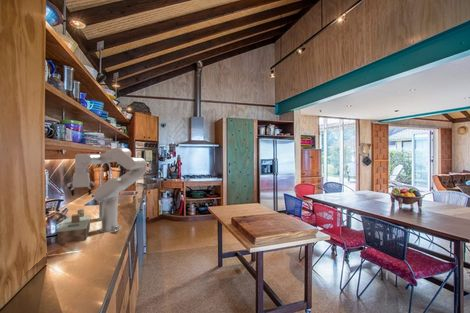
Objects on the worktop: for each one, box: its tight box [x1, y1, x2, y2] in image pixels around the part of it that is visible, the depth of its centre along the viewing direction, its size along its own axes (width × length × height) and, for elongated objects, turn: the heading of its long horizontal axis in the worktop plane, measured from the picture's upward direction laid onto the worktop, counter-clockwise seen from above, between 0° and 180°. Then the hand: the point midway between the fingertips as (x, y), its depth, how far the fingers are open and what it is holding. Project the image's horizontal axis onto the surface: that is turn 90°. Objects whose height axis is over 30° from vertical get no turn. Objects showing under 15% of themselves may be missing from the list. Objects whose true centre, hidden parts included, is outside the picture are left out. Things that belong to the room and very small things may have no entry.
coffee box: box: [98, 201, 103, 221], centre depth 192 cm, size 9×6×16 cm
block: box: [77, 208, 86, 217], centre depth 167 cm, size 4×4×14 cm
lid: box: [57, 213, 91, 233], centre depth 150 cm, size 14×26×6 cm, turn 28°
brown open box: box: [57, 219, 91, 245], centre depth 150 cm, size 14×26×8 cm, turn 28°
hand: (81, 195), depth 166 cm, fingers open, 9 cm apart
